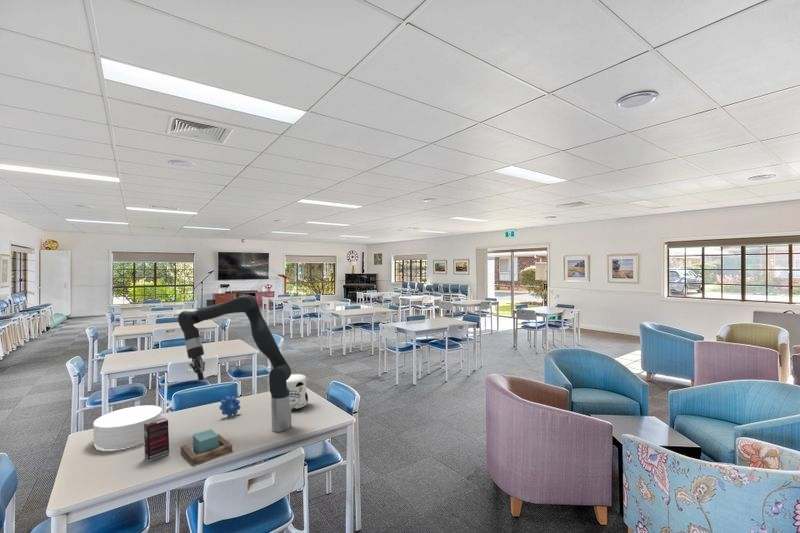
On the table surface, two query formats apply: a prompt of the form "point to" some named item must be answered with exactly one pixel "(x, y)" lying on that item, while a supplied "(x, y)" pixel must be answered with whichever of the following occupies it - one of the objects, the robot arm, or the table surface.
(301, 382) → the milk container
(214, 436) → the teal block
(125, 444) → the plate stack
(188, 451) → the walnut bay
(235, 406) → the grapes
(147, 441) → the supplement box
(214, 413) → the table surface
